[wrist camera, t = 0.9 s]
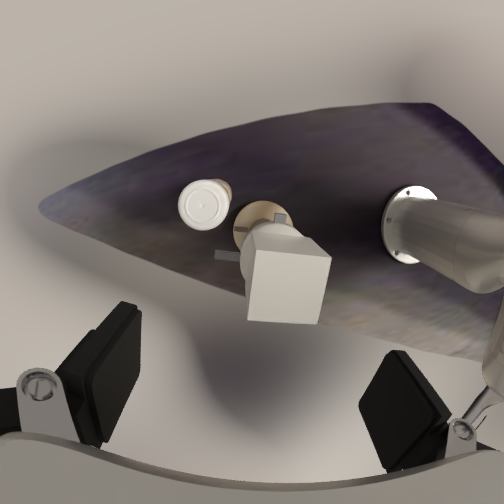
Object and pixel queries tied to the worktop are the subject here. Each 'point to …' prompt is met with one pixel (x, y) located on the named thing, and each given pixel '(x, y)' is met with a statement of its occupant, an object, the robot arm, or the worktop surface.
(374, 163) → the worktop surface
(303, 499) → the robot arm
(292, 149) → the worktop surface
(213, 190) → the sprinkles bottle
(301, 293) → the coupling cap
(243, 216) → the post base
